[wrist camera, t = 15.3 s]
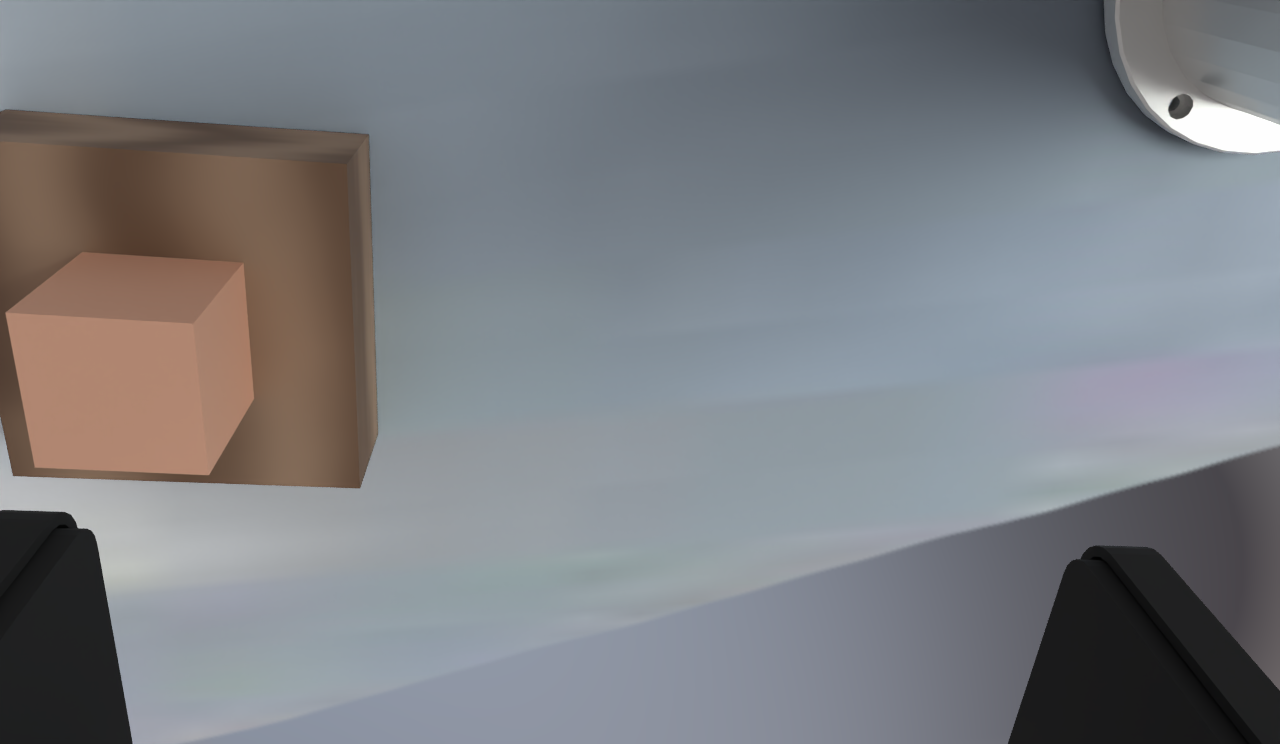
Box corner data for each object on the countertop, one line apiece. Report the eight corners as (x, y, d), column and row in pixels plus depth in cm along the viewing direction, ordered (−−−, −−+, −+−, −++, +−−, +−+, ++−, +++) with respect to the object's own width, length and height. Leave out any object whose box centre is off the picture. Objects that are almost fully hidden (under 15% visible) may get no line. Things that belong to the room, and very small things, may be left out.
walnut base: (368, 134, 36) (346, 164, 32) (377, 434, 41) (360, 488, 37) (5, 109, 34) (-60, 137, 31) (63, 421, 40) (13, 475, 36)
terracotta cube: (243, 262, 33) (193, 323, 29) (254, 398, 35) (209, 475, 31) (81, 252, 33) (5, 312, 28) (103, 390, 35) (34, 467, 30)
